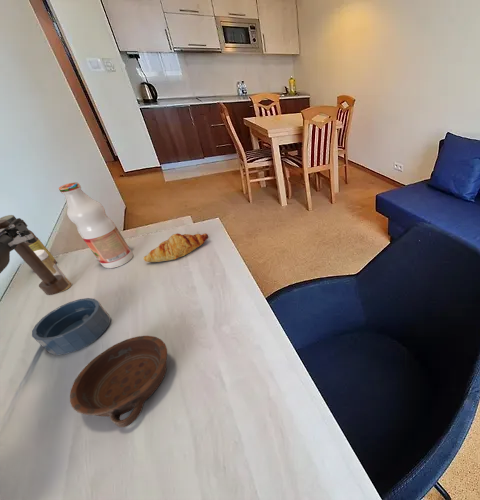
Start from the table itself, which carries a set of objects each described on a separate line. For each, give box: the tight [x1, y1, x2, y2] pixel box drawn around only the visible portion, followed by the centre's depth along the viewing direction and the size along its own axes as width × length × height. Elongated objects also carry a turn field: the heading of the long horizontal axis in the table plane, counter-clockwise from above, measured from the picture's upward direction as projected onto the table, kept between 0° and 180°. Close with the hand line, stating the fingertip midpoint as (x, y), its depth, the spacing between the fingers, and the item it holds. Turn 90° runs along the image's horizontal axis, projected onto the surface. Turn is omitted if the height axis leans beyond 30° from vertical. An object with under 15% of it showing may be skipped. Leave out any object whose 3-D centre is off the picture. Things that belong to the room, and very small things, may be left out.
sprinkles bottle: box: [34, 250, 73, 293], centre depth 91 cm, size 5×5×13 cm
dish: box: [69, 335, 168, 428], centre depth 63 cm, size 18×22×5 cm
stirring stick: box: [0, 219, 69, 296], centre depth 66 cm, size 4×4×18 cm
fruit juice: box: [58, 181, 134, 269], centre depth 97 cm, size 9×9×28 cm
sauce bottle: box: [0, 214, 57, 265], centre depth 100 cm, size 6×6×20 cm
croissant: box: [143, 232, 209, 263], centre depth 104 cm, size 21×10×8 cm, turn 125°
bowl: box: [31, 297, 111, 356], centre depth 76 cm, size 14×14×6 cm
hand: (13, 224), depth 64 cm, fingers closed on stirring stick, 2 cm apart
